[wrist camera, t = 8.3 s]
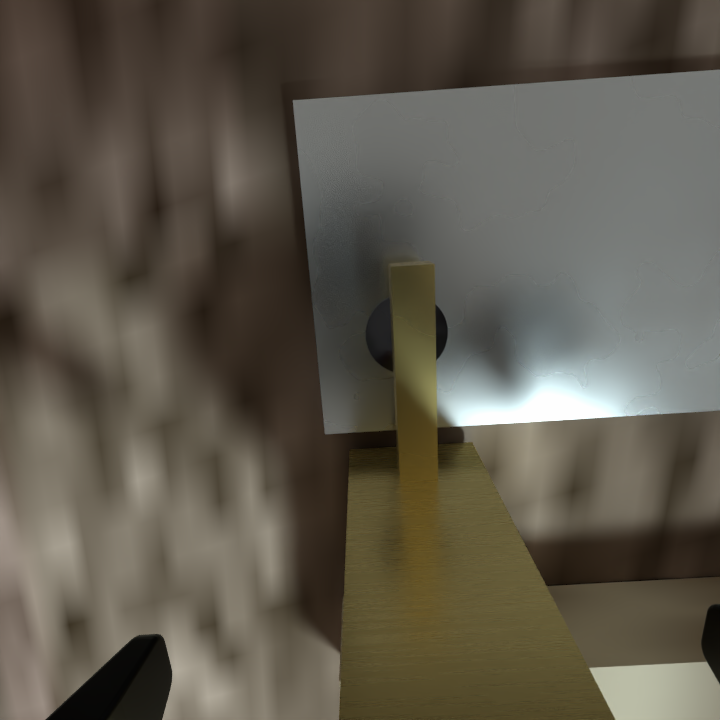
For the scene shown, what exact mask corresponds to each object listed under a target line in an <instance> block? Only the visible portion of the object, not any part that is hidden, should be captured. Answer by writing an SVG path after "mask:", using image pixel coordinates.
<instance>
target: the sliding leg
mask: <svg viewBox="0 0 720 720" xmlns="http://www.w3.org/2000/svg"><path fill="white" fill-rule="evenodd" d="M388 269H389V291H390V313H391V342H392V357H393V379H394V401H395V423H396V445H397V447H384V448H368V449H351V450H350V453H349V479H348V505H347V530H346V556H345V582H344V607H343V633H342V659H341V684H340V710H339V720H615V718H614V716H613V714H612V712H611V710H610V708H609V706H608V704H607V702H606V700H605V698H604V696H603V694H602V692H601V691H600V689H599V687H598V685H597V683H596V681H595V679H594V677H593V675H592V673H591V671H590V669H589V667H588V665H587V663H586V662H585V660H584V658H583V656H582V654H581V652H580V650H579V648H578V646H577V644H576V642H575V640H574V638H573V636H572V635H571V633H570V631H569V629H568V627H567V625H566V623H565V621H564V619H563V617H562V615H561V613H560V611H559V609H558V607H557V606H556V604H555V602H554V600H553V598H552V596H551V594H550V592H549V590H548V588H547V586H546V584H545V582H544V580H543V578H542V577H541V575H540V573H539V571H538V569H537V567H536V565H535V563H534V561H533V559H532V557H531V555H530V553H529V551H528V549H527V548H526V546H525V544H524V542H523V540H522V538H521V536H520V534H519V532H518V530H517V528H516V526H515V524H514V522H513V521H512V519H511V517H510V515H509V513H508V511H507V509H506V507H505V505H504V503H503V501H502V499H501V497H500V495H499V493H498V492H497V490H496V488H495V486H494V484H493V482H492V480H491V478H490V476H489V474H488V472H487V470H486V468H485V466H484V464H483V463H482V461H481V459H480V457H479V455H478V453H477V451H476V449H475V447H474V445H473V443H472V442H468V443H451V444H438V441H437V377H436V313H435V264H434V263H432V262H430V261H418V262H403V263H388Z"/></svg>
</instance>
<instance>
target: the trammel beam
mask: <svg viewBox="0 0 720 720" xmlns="http://www.w3.org/2000/svg"><path fill="white" fill-rule="evenodd" d="M547 588H548V590H549V592H550V594H551V596H552V598H553V600H554V602H555V604H556V606H557V607H558V609H559V611H560V613H561V615H562V617H563V619H564V621H565V623H566V625H567V627H568V629H569V631H570V633H571V635H572V636H573V638H574V640H575V642H576V644H577V646H578V648H579V650H580V652H581V654H582V656H583V658H584V660H585V662H586V663H587V665H588V667H589V669H590V671H591V673H592V675H593V677H594V679H595V681H596V683H597V685H598V687H599V689H600V691H601V692H602V694H603V696H604V698H605V700H606V702H607V704H608V706H609V708H610V710H611V712H612V714H613V716H614V718H615V720H720V684H719V683H718V681H717V679H716V677H715V675H714V674H713V672H712V670H711V668H710V667H709V665H708V663H707V661H706V659H705V657H704V655H703V652H702V648H701V638H702V633H703V628H704V623H705V618H706V613H707V610H708V608H709V607H710V606H711V605H713V604H720V577H705V578H687V579H669V580H650V581H632V582H613V583H595V584H577V585H558V586H547ZM343 607H344V597H343V602H342V626H341V650H340V673H339V684H341V659H342V633H343Z"/></svg>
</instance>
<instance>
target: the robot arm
mask: <svg viewBox="0 0 720 720" xmlns="http://www.w3.org/2000/svg"><path fill="white" fill-rule="evenodd" d="M701 648H702V652H703V655H704V657H705V659H706V661H707V663H708V665H709V667H710V668H711V670H712V672H713V674H714V675H715V677H716V679H717V681H718V683H719V684H720V604H713V605H711V606H710V607H709V608H708V610H707V613H706V618H705V623H704V628H703V633H702V638H701ZM171 682H172V669H171V664H170V660H169V656H168V652H167V648H166V644H165V641H164V638H163V637H162V636H161V635H159V634H150V635H138V636H136V637H134V638H133V639H132V640H130V641H129V642H128V643H127V644H126V645H125V646H124V647H123V648H122V649H121V650H120V651H119V652H118V653H116V654H115V655H114V656H113V657H112V658H111V659H110V660H109V661H108V662H107V663H106V664H105V665H104V666H103V667H101V668H100V669H99V670H98V671H97V672H96V673H95V674H94V675H93V676H92V677H91V678H90V679H89V680H87V681H86V682H85V683H84V684H83V685H82V686H81V687H80V688H79V689H78V690H77V691H76V692H75V693H74V694H72V695H71V696H70V697H69V698H68V699H67V700H66V701H65V702H64V703H63V704H62V705H61V706H60V707H58V708H57V709H56V710H55V711H54V712H53V713H52V714H51V715H50V716H49V717H48V718H47V719H46V720H162V718H163V714H164V711H165V707H166V703H167V699H168V695H169V692H170V688H171Z"/></svg>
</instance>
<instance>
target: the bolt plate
mask: <svg viewBox="0 0 720 720" xmlns="http://www.w3.org/2000/svg"><path fill="white" fill-rule="evenodd" d="M293 108H294V119H295V129H296V139H297V150H298V160H299V170H300V181H301V191H302V202H303V212H304V222H305V233H306V243H307V253H308V264H309V274H310V285H311V295H312V305H313V316H314V326H315V336H316V347H317V357H318V367H319V378H320V388H321V399H322V409H323V419H324V430H325V434H337V433H354V432H371V431H387V430H396V423H395V401H394V379H393V357H392V342H391V313H390V291H389V269H388V263H403V262H418V261H430V262H432V263H434V264H435V313H436V377H437V427H454V426H470V425H487V424H504V423H520V422H537V421H553V420H570V419H587V418H603V417H620V416H636V415H653V414H670V413H686V412H703V411H719V410H720V70H707V71H693V72H679V73H665V74H652V75H638V76H624V77H610V78H596V79H582V80H568V81H555V82H541V83H527V84H513V85H499V86H485V87H471V88H457V89H444V90H430V91H416V92H402V93H388V94H374V95H360V96H347V97H333V98H319V99H305V100H293Z"/></svg>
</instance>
